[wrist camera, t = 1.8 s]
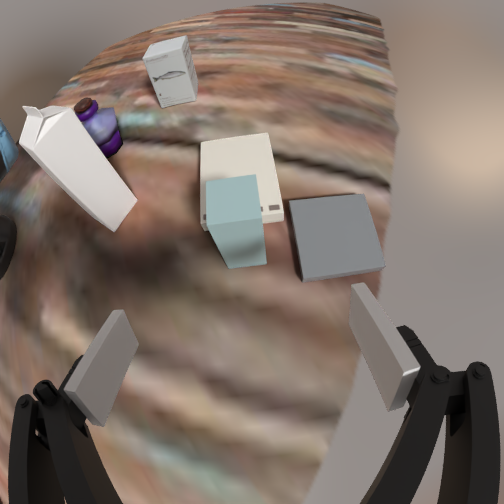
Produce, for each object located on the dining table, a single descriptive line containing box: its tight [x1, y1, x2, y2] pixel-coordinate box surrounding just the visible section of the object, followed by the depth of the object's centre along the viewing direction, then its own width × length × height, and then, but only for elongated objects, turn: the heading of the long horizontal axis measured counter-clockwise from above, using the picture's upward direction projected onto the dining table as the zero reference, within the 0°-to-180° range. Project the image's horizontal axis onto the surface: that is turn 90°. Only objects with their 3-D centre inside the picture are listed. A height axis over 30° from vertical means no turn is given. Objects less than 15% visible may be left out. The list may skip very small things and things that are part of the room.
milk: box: [19, 106, 138, 232], centre depth 27 cm, size 6×6×22 cm
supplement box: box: [143, 36, 198, 108], centre depth 41 cm, size 7×7×13 cm
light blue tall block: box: [206, 174, 267, 269], centre depth 28 cm, size 5×4×11 cm
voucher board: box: [200, 133, 284, 231], centre depth 35 cm, size 14×10×2 cm
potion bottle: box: [74, 98, 123, 159], centre depth 37 cm, size 9×9×12 cm
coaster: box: [289, 194, 386, 282], centre depth 32 cm, size 10×10×2 cm
